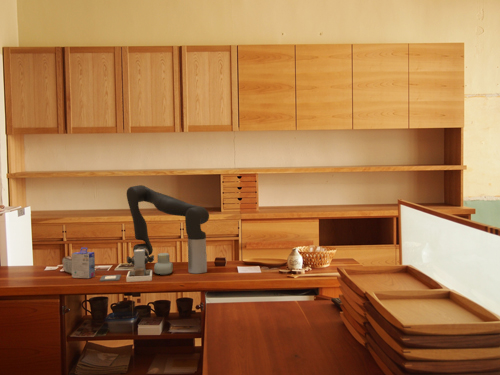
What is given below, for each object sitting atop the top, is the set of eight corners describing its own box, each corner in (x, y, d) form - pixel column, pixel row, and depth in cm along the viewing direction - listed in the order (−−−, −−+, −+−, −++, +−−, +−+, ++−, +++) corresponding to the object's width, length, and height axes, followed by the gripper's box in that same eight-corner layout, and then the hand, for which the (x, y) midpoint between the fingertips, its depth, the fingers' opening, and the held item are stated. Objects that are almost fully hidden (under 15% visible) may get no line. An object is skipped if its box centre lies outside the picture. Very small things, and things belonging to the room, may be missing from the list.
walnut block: (143, 278, 223) (143, 268, 223) (143, 280, 219) (143, 270, 219) (135, 278, 222) (135, 268, 222) (134, 280, 218) (134, 270, 218)
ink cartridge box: (95, 276, 228) (95, 247, 228) (89, 278, 223) (88, 249, 222) (78, 275, 230) (77, 246, 230) (71, 278, 225) (70, 248, 224)
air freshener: (170, 276, 226) (169, 256, 226) (153, 276, 226) (153, 256, 226) (173, 270, 237) (173, 251, 237) (157, 271, 237) (157, 252, 237)
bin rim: (152, 273, 231) (152, 269, 231) (151, 280, 218) (151, 275, 218) (128, 275, 229) (128, 270, 229) (126, 281, 216) (126, 277, 216)
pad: (121, 275, 228) (120, 274, 228) (119, 280, 219) (119, 279, 219) (102, 276, 226) (102, 275, 226) (99, 281, 217) (99, 280, 217)
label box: (145, 274, 229) (144, 249, 228) (145, 277, 224) (144, 251, 223) (135, 275, 228) (134, 249, 227) (134, 278, 223) (133, 251, 223)
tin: (80, 274, 231) (80, 258, 231) (74, 276, 229) (74, 259, 228) (67, 270, 241) (66, 254, 241) (61, 271, 239) (60, 255, 239)
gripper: (127, 249, 238) (124, 255, 222) (155, 247, 241) (154, 254, 224) (127, 263, 239) (124, 271, 222) (155, 262, 241) (154, 269, 225)
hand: (139, 262), depth 223 cm, fingers closed on label box, 5 cm apart
